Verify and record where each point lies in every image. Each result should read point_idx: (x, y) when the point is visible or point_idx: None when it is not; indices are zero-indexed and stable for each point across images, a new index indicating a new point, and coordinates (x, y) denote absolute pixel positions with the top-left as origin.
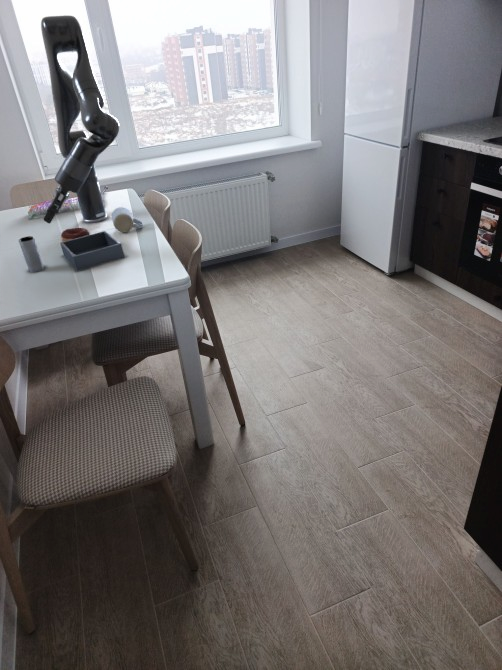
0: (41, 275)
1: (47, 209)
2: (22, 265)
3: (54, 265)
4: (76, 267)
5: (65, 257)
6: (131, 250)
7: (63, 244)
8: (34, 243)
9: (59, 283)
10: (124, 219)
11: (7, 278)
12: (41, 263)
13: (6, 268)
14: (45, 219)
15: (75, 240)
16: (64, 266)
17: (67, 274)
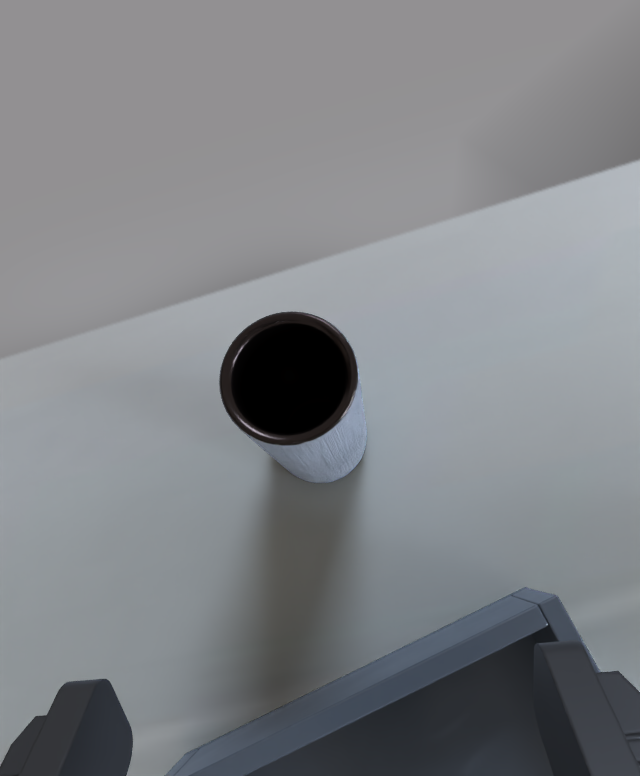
0: (208, 495)
1: (551, 671)
2: (421, 323)
3: (354, 548)
4: (174, 765)
5: (483, 608)
6: None
7: (493, 642)
8: (275, 451)
9: (32, 649)
10: None
11: (238, 295)
12: (305, 477)
13: (400, 240)
14: (29, 731)
15: None
16: (311, 631)
17: (157, 681)
